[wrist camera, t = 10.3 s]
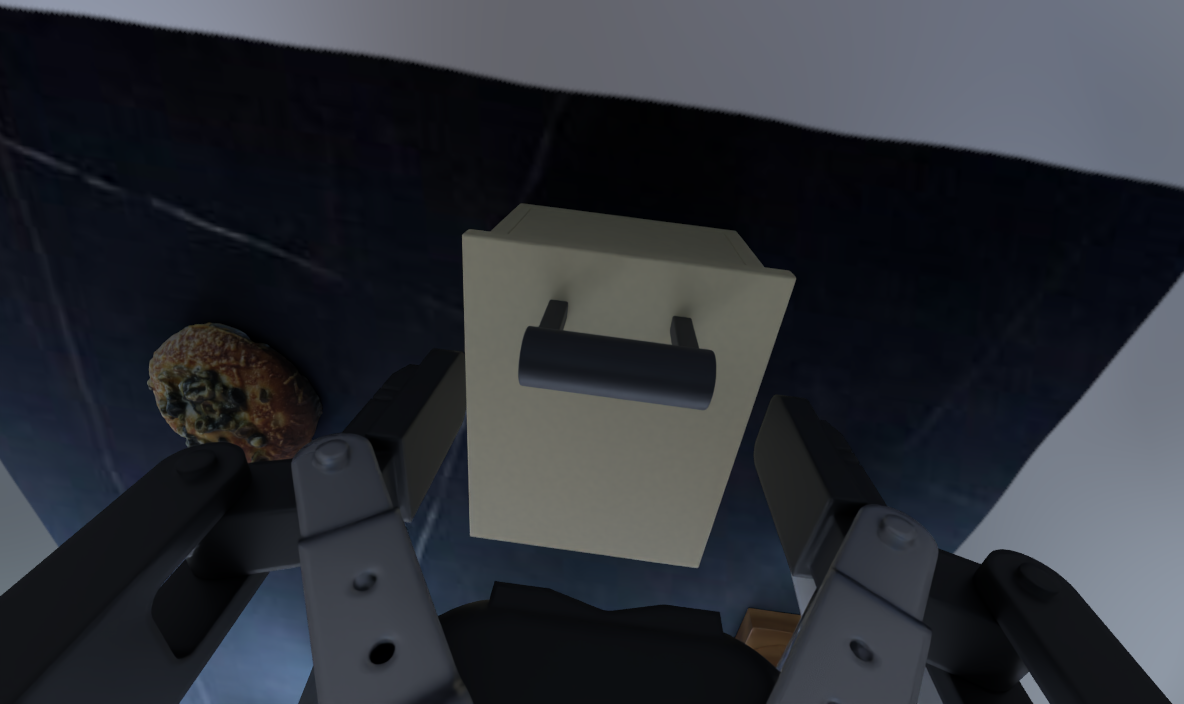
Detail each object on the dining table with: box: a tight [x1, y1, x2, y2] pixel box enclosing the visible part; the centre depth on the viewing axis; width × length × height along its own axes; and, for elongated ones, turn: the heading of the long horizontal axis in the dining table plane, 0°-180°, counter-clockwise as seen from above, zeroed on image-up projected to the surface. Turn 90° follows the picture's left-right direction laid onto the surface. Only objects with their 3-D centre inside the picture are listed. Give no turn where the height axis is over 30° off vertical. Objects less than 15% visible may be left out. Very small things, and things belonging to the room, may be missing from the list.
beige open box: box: [490, 203, 764, 267], centre depth 24 cm, size 15×12×9 cm
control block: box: [735, 608, 801, 668], centre depth 40 cm, size 10×7×4 cm
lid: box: [462, 229, 796, 568], centre depth 18 cm, size 15×12×5 cm
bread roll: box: [147, 322, 323, 463], centre depth 31 cm, size 11×11×5 cm
